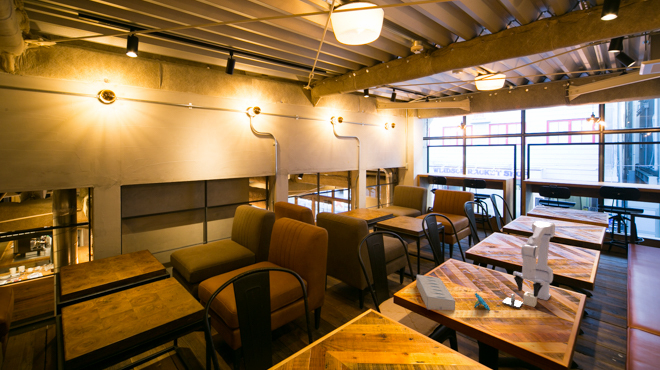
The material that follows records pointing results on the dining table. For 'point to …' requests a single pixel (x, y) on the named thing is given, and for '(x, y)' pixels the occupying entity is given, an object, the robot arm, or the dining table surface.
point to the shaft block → (512, 302)
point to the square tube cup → (530, 299)
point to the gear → (481, 302)
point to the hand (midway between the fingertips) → (527, 293)
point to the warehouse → (434, 293)
